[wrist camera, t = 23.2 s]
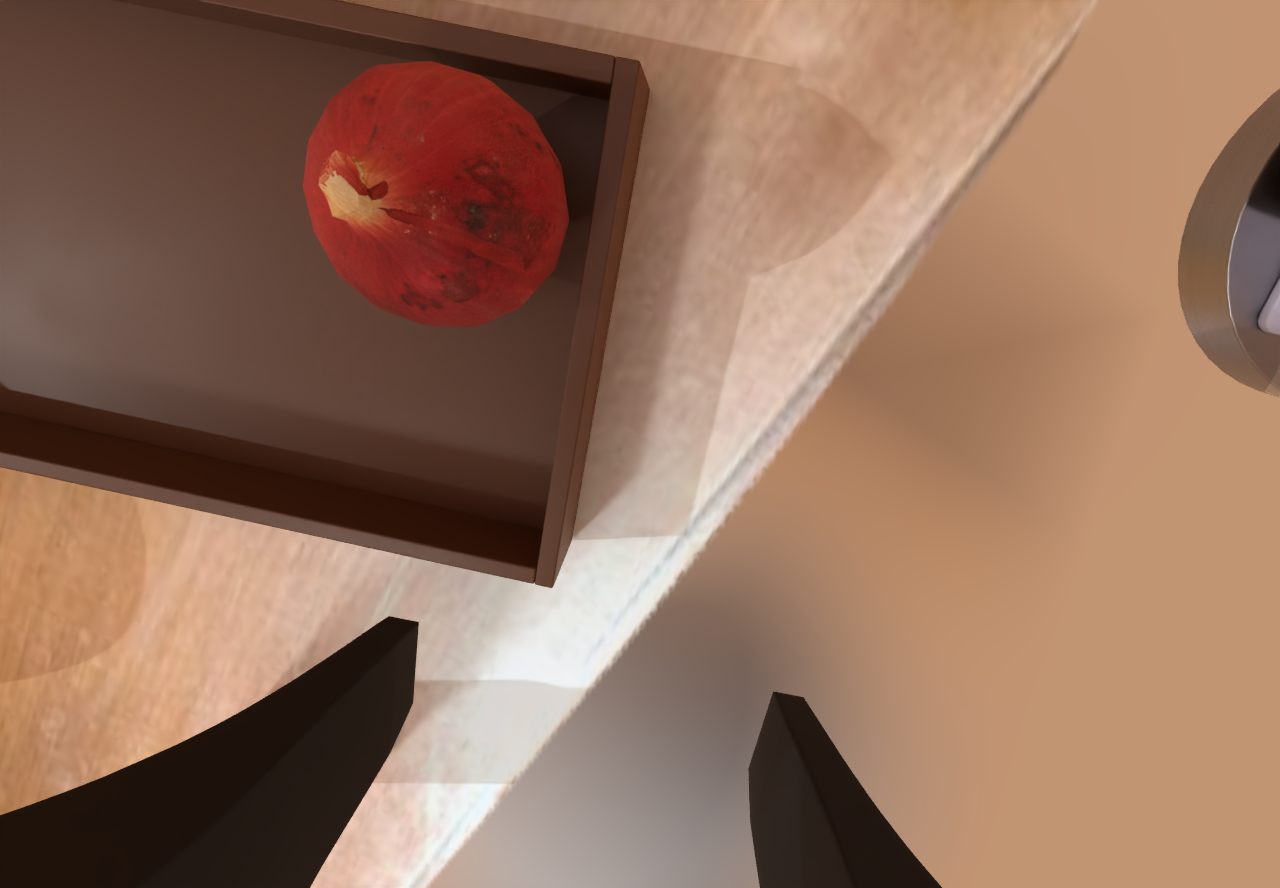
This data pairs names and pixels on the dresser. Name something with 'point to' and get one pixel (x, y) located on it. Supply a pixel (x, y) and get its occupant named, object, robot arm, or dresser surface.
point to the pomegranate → (435, 194)
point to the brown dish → (286, 282)
